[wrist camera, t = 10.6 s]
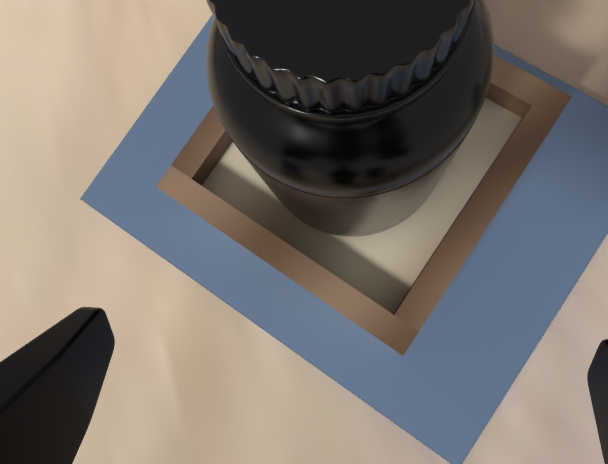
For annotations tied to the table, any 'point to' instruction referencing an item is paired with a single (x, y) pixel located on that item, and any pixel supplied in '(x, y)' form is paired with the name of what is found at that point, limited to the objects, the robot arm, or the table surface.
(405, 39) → the supplement bottle
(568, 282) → the board
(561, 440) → the table surface
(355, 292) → the foundation socket
